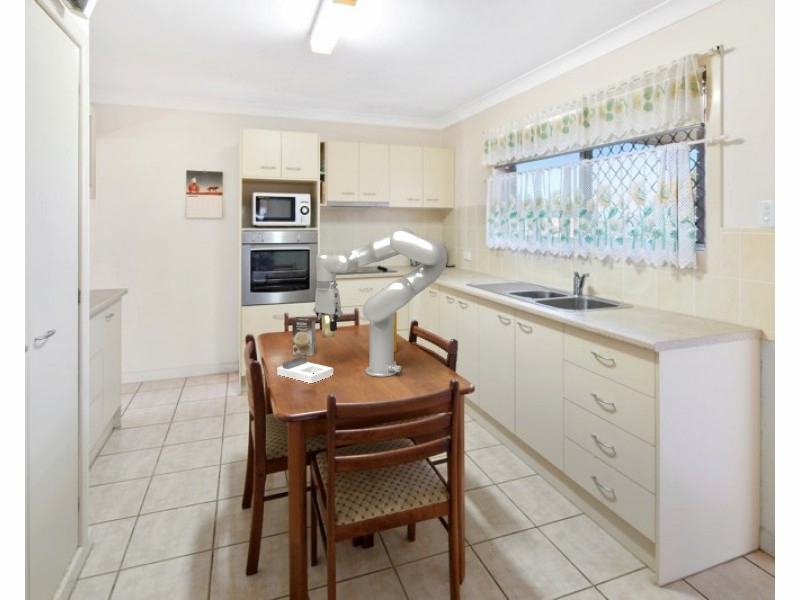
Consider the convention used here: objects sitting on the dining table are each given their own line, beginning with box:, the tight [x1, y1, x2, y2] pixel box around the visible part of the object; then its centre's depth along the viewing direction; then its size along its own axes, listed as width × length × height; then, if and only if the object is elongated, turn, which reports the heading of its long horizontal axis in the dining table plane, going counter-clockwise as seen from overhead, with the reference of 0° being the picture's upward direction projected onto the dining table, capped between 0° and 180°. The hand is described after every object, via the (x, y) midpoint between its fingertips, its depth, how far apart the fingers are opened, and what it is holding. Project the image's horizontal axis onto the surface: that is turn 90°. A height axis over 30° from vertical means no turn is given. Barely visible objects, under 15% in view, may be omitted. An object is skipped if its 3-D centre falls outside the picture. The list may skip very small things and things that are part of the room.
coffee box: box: [291, 316, 317, 357], centre depth 214 cm, size 9×6×16 cm
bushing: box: [321, 314, 336, 339], centre depth 193 cm, size 5×5×9 cm
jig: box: [276, 356, 334, 384], centre depth 186 cm, size 18×12×5 cm, turn 57°
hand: (328, 329), depth 193 cm, fingers closed on bushing, 5 cm apart
